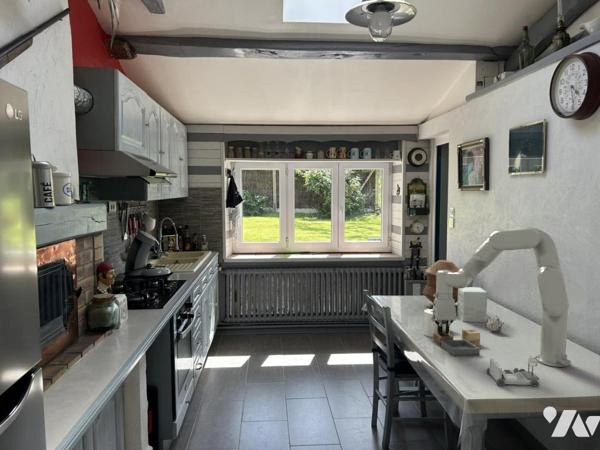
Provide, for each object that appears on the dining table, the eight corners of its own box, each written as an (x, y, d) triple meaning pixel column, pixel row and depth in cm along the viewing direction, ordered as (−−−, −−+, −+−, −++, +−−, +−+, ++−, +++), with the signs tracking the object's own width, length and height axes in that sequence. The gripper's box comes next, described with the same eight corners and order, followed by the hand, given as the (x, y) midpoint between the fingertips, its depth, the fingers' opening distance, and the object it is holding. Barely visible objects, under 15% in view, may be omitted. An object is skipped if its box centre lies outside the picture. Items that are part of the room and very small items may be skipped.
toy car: (533, 352, 176) (547, 363, 164) (532, 376, 176) (546, 388, 165) (486, 350, 177) (497, 361, 165) (486, 374, 178) (496, 387, 166)
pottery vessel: (414, 303, 291) (415, 259, 289) (443, 300, 302) (444, 256, 300) (441, 313, 268) (443, 264, 266) (473, 309, 278) (474, 262, 276)
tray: (479, 354, 198) (479, 348, 198) (453, 356, 196) (454, 349, 196) (465, 345, 211) (465, 339, 210) (440, 346, 209) (441, 340, 208)
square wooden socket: (453, 345, 211) (453, 336, 210) (439, 346, 209) (439, 337, 209) (446, 340, 217) (446, 331, 217) (432, 341, 216) (433, 332, 216)
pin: (447, 340, 212) (447, 319, 211) (441, 340, 212) (442, 320, 211) (444, 338, 215) (444, 318, 214) (438, 338, 215) (439, 318, 214)
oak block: (479, 344, 212) (480, 332, 212) (468, 345, 211) (468, 333, 211) (473, 340, 218) (473, 328, 218) (461, 341, 217) (462, 329, 217)
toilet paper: (428, 330, 235) (428, 307, 234) (447, 334, 228) (447, 311, 227) (420, 334, 227) (420, 311, 226) (439, 338, 220) (440, 315, 220)
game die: (497, 339, 232) (506, 327, 225) (481, 332, 233) (490, 321, 227) (497, 327, 238) (506, 315, 232) (482, 320, 240) (490, 309, 233)
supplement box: (479, 316, 262) (480, 287, 261) (486, 322, 249) (487, 292, 248) (456, 315, 264) (457, 286, 263) (462, 321, 251) (463, 291, 250)
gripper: (431, 298, 207) (430, 336, 208) (463, 297, 209) (462, 335, 211) (424, 294, 214) (424, 331, 216) (455, 293, 217) (454, 330, 218)
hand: (443, 333), depth 213 cm, fingers closed on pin, 2 cm apart
